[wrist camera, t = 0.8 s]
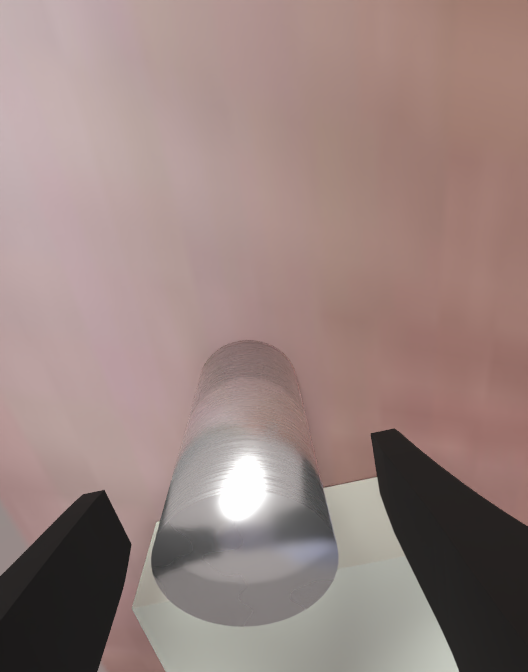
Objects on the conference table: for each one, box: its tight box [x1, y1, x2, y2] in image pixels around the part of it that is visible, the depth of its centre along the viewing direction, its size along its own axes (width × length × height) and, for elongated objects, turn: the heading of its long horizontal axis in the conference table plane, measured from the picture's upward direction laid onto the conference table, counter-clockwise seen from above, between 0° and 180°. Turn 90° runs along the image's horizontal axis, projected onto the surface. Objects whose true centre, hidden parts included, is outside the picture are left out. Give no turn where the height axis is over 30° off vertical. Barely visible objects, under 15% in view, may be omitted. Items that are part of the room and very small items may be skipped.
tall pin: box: [151, 340, 339, 627], centre depth 12 cm, size 4×4×8 cm
